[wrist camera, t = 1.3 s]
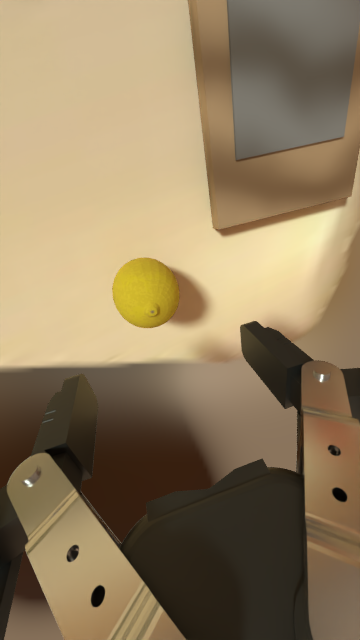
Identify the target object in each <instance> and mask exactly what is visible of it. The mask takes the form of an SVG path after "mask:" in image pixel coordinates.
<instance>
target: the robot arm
mask: <svg viewBox="0 0 360 640" xmlns="http://www.w3.org/2000/svg"><path fill="white" fill-rule="evenodd" d="M240 332H241V346H242V353H243V355H244V358H245V359H246V361H247V362H248V363H249V365H250V366H251V367H252V368H253V370H254V371H255V372H256V373H257V375H258V376H259V377H260V378H261V380H262V381H263V382H264V383H265V385H266V386H267V387H268V388H269V390H270V391H271V392H272V393H273V395H274V396H275V397H276V398H277V400H278V401H279V402H280V403H281V405H282V406H283V407H284V408H285V409H286V408H289V407H292V406H294V407H295V408H296V409H297V461H296V472H294V471H291V470H287V469H283V468H275V467H267V466H266V464H265V462H264V461H263V459H260V460H257V461H255V462H252V463H249V464H247V465H244V466H242V467H239V468H237V469H234V470H233V471H232V472H231V473H229V474H228V475H227V476H225V477H224V478H223V479H221V480H220V481H219V482H218V483H216V484H215V485H214V486H212V487H211V488H209V489H205V490H191V491H177V492H174V493H171V494H168V495H166V496H163V497H161V498H158V499H155V500H153V501H150V502H148V503H146V506H147V514H146V515H145V516H144V517H143V518H142V519H141V520H140V521H139V522H137V523H136V525H135V526H134V527H133V528H132V529H131V530H130V532H129V533H128V535H127V536H126V538H125V539H124V541H123V542H122V544H121V543H120V541H119V540H118V539H117V538H116V536H115V535H114V534H113V533H112V531H111V530H110V529H109V528H108V527H107V525H106V524H105V522H104V521H103V520H102V519H101V517H100V516H99V515H98V513H97V512H96V511H95V510H94V508H93V507H92V506H91V504H90V503H89V502H88V501H87V499H86V498H85V497H84V495H83V494H82V493H81V483H82V481H84V480H86V479H89V478H92V471H93V460H94V449H95V437H96V425H97V415H98V403H97V398H96V396H95V394H94V392H93V390H92V388H91V387H90V384H89V383H88V381H87V379H86V377H85V376H84V375H83V374H79V375H76V376H72V377H69V378H66V379H65V380H64V384H63V387H62V390H61V392H57V393H56V394H55V395H54V396H53V398H52V399H51V400H50V402H49V403H48V406H47V409H46V412H45V415H44V418H43V421H42V422H43V424H41V427H40V430H39V433H38V436H37V439H36V442H35V445H34V448H33V451H32V454H31V457H29V458H28V459H26V460H25V461H24V462H22V464H20V465H19V466H18V468H17V469H16V470H15V471H14V472H13V474H12V475H11V477H10V479H9V482H8V484H7V485H6V486H4V487H3V488H1V489H0V640H4V636H5V632H6V627H7V623H8V618H9V614H10V609H11V605H12V600H13V596H14V591H15V587H16V582H17V578H18V573H19V569H20V564H21V559H22V555H23V551H25V550H26V552H27V555H28V557H29V560H30V562H31V564H32V567H33V569H34V571H35V573H36V576H37V578H38V581H39V583H40V585H41V587H42V590H43V592H44V594H45V597H46V599H47V601H48V604H49V606H50V608H51V610H52V613H53V615H54V617H55V619H56V622H57V624H58V626H59V629H60V631H61V633H62V635H63V638H64V640H360V368H353V369H339V368H338V367H336V366H335V365H333V364H331V363H328V362H325V361H314V360H313V359H312V358H310V357H309V356H308V355H307V354H306V353H304V352H303V351H301V349H299V348H298V347H297V346H296V345H295V344H293V343H291V341H290V340H288V339H287V338H285V336H284V335H282V334H281V333H280V332H279V331H277V330H274V329H272V328H269V327H267V328H264V327H263V326H261V325H260V324H259V323H258V322H257V321H253V322H250V323H246V324H243V325H241V327H240Z"/></svg>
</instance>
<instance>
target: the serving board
mask: <svg viewBox="0 0 360 640" xmlns="http://www.w3.org/2000/svg"><path fill="white" fill-rule="evenodd" d="M188 4H189V14H190V23H191V32H192V41H193V50H194V59H195V68H196V77H197V86H198V95H199V104H200V113H201V122H202V132H203V141H204V150H205V159H206V168H207V177H208V186H209V195H210V204H211V213H212V222H213V228H215V229H218V230H220V229H224V228H228V227H232V226H235V225H239V224H243V223H247V222H251V221H255V220H259V219H263V218H267V217H271V216H275V215H279V214H283V213H287V212H291V211H295V210H299V209H303V208H307V207H311V206H315V205H319V204H322V203H326V202H330V201H334V200H338V199H342V198H346V197H350V196H351V195H352V189H353V184H354V178H355V172H356V166H357V160H358V154H359V148H360V0H188Z"/></svg>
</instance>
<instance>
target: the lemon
mask: <svg viewBox="0 0 360 640" xmlns="http://www.w3.org/2000/svg"><path fill="white" fill-rule="evenodd" d="M112 290H113V300H114V302H115V305H116V308H117V310H118V311H119V312H120V314H121V315H122V317H123V318H124V319H126V320H127V321H128V322H129V323H131V324H133V325H135V326H137V327H142V328H153V327H158V326H160V325H162V324H164V323H166V322H167V321H168V320H169V319H170V318H171V317H172V316H173V315H174V313H175V311H176V309H177V307H178V303H179V287H178V283H177V281H176V278H175V276H174V275H173V273H172V272H171V270H170V269H169V268H168V267H167V266H165V265H164V264H163V263H161V262H159V261H157V260H155V259H151V258H138V259H134V260H131V261H130V262H128V263H126V264H125V265H124V266H123V267H122V268H121V269H120V270H119V271H118V273H117V275H116V277H115V279H114V283H113V288H112Z"/></svg>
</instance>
